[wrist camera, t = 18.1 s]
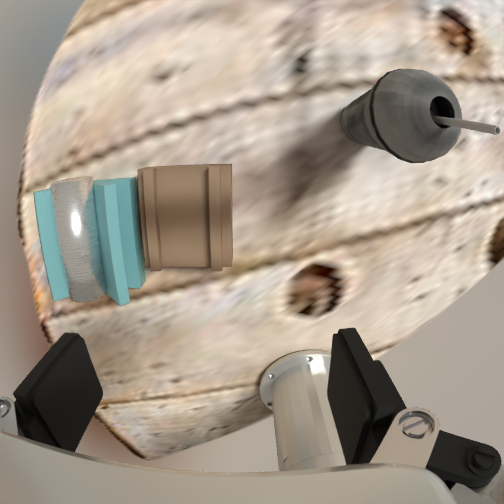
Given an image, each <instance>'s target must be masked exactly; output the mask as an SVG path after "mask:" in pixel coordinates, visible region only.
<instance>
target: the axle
mask: <svg viewBox="0 0 504 504" xmlns="http://www.w3.org/2000/svg"><path fill="white" fill-rule="evenodd" d="M51 191H52V201H53V209H54V217H55V225H56V232H57V238H58V244H59V250H60V255H61V261H62V266H63V271H64V275H65V280H66V285H67V289H68V293H69V297H70V299H71V300H72V301H75V302H89V301H93V300H96V299H98V298H100V297H102V296H103V295H104V294H105V293H106V292H107V287H106V282H105V276H104V270H103V264H102V258H101V252H100V245H99V237H98V230H97V221H96V212H95V202H94V190H93V177H92V176H88V177H78V178H71V179H65V180H60V181H56V182H52V183H51Z"/></svg>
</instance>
